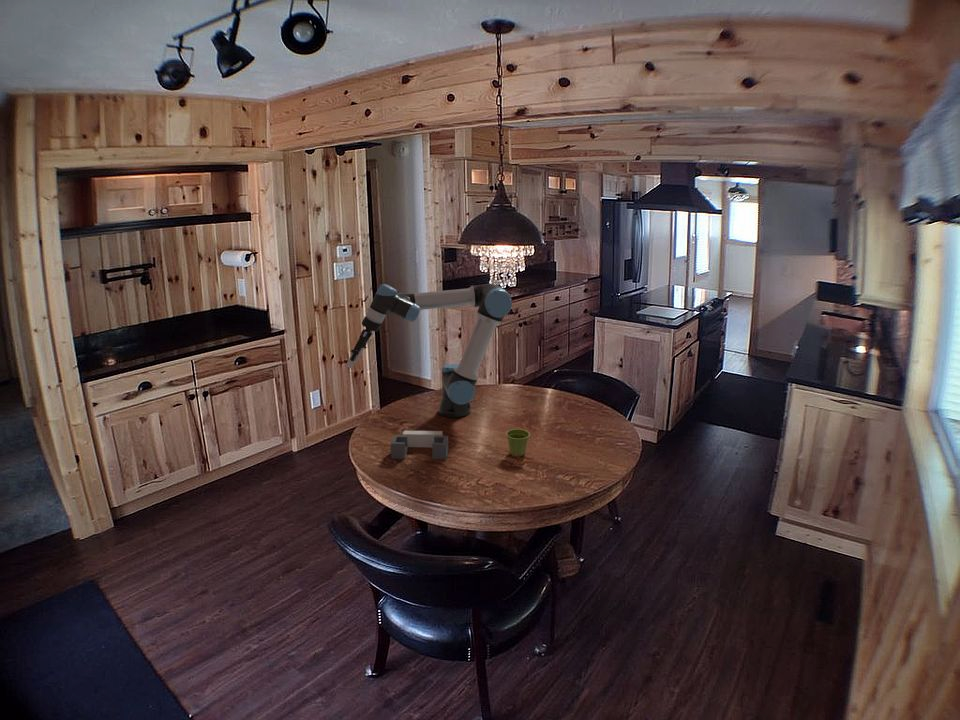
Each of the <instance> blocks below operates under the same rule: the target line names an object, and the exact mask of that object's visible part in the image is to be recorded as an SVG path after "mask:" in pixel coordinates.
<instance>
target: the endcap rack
mask: <svg viewBox="0 0 960 720" xmlns="http://www.w3.org/2000/svg"><path fill="white" fill-rule="evenodd" d="M408 452H409V447H408V435H403V434H397V435H395V434H394V435H393V437H392V440H391V442H390V458H391V460H392V459H393V460H394V459H396V460H397V459H398V460H400V459H401V460H405V459H406V457H407V454H408ZM431 454H432V456H431V457H432V460H447V458H448V454H449V435H442V436H434V443H432V447H431Z"/></svg>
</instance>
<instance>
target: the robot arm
mask: <svg viewBox="0 0 960 720" xmlns="http://www.w3.org/2000/svg"><path fill="white" fill-rule="evenodd" d="M512 300H513V299H512V298H511V295H510V293H509V291H507V290H506V289H504V288H503V287H501V286H500V285H498V284H496V283H485V284H478V285H477V284H476V285H470V287H468V288H459V289H447V290H437V291H428V292H427V291H426V292H415V293H404V292H399V293H398V290H397V289H395V288H394V287H392V286H391V285H389V284H386V283H381V284H380V286H379V287H378V289H377V291H376V292H375V295H374V297H373V298H372V301H371V303H370V305H369V307H368V308H366V313H365V316H363V319H362V321H361V325H362V326H363V327H364V328H365V329H362V330H361V332H360V335H359V338H358V340H357V342H356V343H355V345H354V348H353V349H350V353H351V354H350V355H349V358H348V360H347V362H346V364H345V367H347V368H349V369H352V368H353V367H354V364H355V363H358V362H359V360H360V357H361V356H362V354H363V352H364V350H366V349H367V344H368V341H369V340H370V339H371V337H372V335H373V332H375V333H376V332H377V333H378V332H379V330H380V328H381V326H382V323H383V322H384V320H385V318H386V316H387V314H388V312H389V313H392V314H394V315H396V316H398V317H399V318H402V319H404V320H406V321H409V322H411V323H414V322H415V321H416V320H417V318H418V317H419V315H420V312H421V311H424V310H431V309H432V310H433V309H434V310H435V309H442V308H443V309H444V308H455V307H464V306H465V307H467V306H471V307H472V308H478V309H477V312H476V313H477V315H478V317H477V320H476V323H475V326H474V328H473V330H472V333H471V334H470V337H469V340H468V342H467V345H466V347H465V349H464V352H463V355H462V357H461V360H460V362H459V363H450V364H449V363H448V364H446V365H443V366H442V367H441V383H442V384H441V390H442V391H441V392H442V393H441V394H442V395H441V400H440V402H439V406H438V413H439V414H440V415H441V416H443V417H448V418H462V417H465V416H467V415H469V414H471V412H472V406H471V403H470V402H471V401H472V400H473V399H474V397H475V395H476V394H475V393H476V389H475V387H476V385H477V383H478V380H479V377H478V371H479V367H480V365H481V363H482V361H483V359H484V357H485V354H486V352H487V349H488V347H489V345H490V342H491V339H492V338H493V334H494V333H495V330H496V327H497V325H499V324H501V323H502V322H503V320H504V318H505V316H507V315H508V314H510V311H512V307H513V306H512V305H513V301H512Z"/></svg>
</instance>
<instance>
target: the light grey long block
mask: <svg viewBox="0 0 960 720" xmlns="http://www.w3.org/2000/svg"><path fill="white" fill-rule="evenodd" d="M402 435H408V448H432V443H434V436H443V430H403V432H402Z"/></svg>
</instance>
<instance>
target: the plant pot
mask: <svg viewBox="0 0 960 720" xmlns="http://www.w3.org/2000/svg"><path fill="white" fill-rule="evenodd" d="M505 434H506V435H505V436H506V437H507V440H508V446H509V447H508V448H509V454H510V455H512V456H513V457H522V456H524V455H525V454H526V451H527V450H526V448H527V444H528V440H529V437H530V435H531V433H530V432H529V431H528V430H525V429H520V428H514V429H510V430H509V429H508V431H506V433H505Z"/></svg>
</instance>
